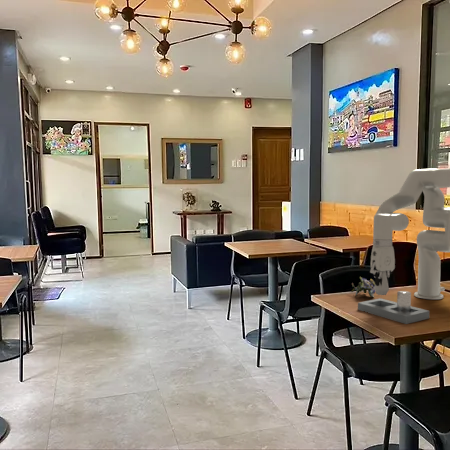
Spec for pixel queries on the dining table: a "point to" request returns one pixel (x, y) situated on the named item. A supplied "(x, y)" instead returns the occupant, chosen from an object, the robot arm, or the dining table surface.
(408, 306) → the steel pin
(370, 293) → the toy creature figurine
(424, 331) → the dining table surface
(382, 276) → the salt shaker
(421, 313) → the hole plate
